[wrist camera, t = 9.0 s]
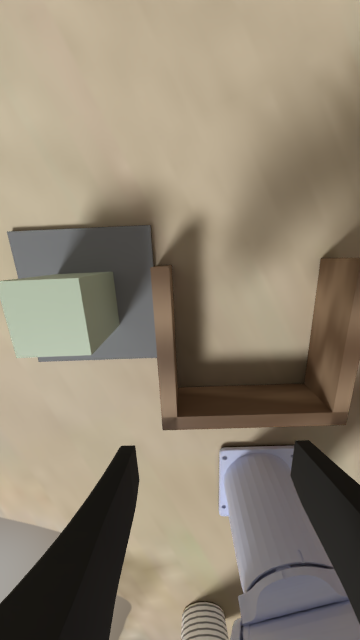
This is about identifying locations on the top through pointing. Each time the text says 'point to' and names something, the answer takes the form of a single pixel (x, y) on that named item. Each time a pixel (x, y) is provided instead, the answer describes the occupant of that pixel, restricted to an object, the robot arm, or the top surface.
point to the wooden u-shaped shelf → (276, 399)
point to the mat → (99, 256)
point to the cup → (203, 622)
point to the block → (60, 313)
